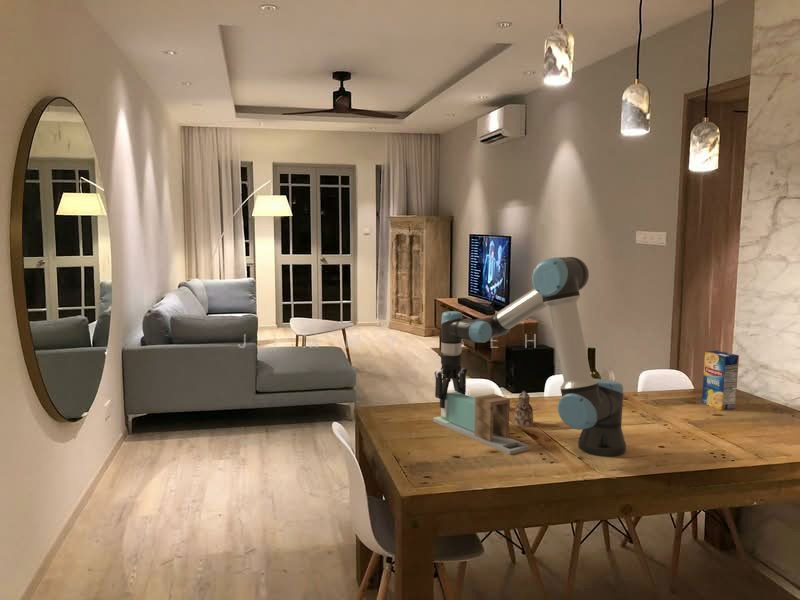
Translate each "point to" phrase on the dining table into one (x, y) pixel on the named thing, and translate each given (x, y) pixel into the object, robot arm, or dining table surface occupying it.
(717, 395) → the blue cardboard box
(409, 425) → the dining table surface
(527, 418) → the figurine
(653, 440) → the dining table surface
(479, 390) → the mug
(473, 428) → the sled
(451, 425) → the track board
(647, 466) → the dining table surface
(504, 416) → the tunnel
